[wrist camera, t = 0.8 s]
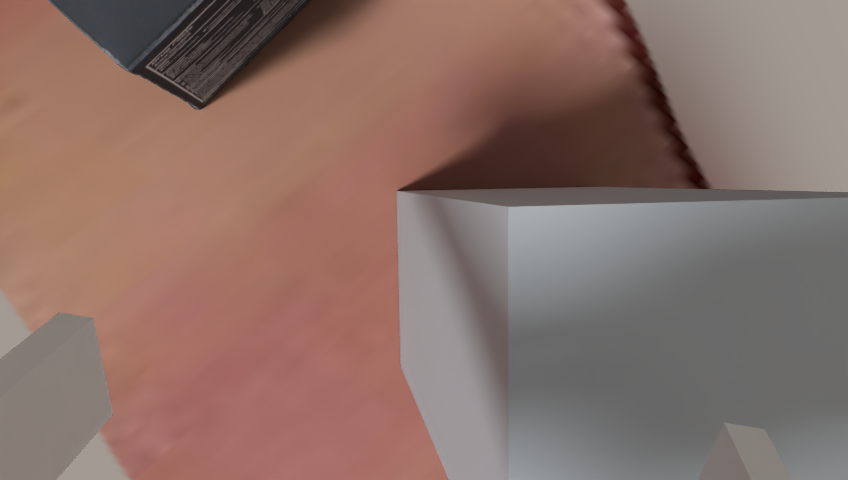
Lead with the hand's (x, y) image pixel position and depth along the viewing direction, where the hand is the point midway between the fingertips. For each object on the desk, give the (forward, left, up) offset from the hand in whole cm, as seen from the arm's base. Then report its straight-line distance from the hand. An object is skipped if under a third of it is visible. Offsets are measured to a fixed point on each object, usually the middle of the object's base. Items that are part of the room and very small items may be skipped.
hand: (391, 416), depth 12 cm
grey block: (-6, +6, -20) cm, 21 cm away
